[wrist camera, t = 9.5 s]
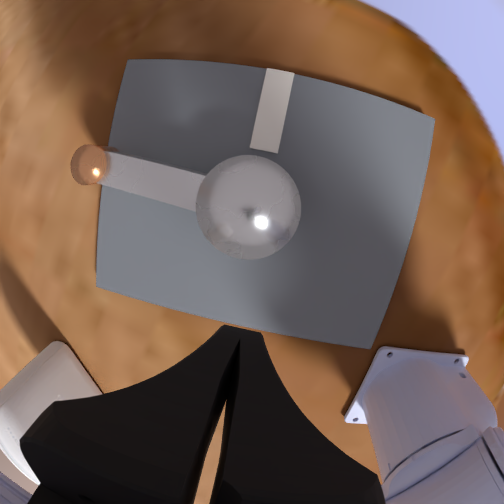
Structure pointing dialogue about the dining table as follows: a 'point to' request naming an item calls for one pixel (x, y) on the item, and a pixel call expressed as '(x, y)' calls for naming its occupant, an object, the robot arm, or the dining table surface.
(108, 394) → the robot arm
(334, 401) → the dining table surface
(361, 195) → the lock plate
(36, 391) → the photo printer
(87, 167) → the lever with ball knob
